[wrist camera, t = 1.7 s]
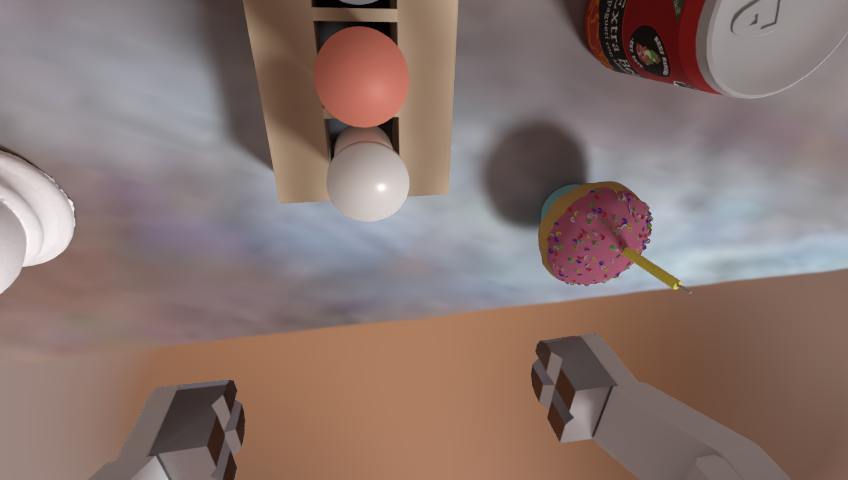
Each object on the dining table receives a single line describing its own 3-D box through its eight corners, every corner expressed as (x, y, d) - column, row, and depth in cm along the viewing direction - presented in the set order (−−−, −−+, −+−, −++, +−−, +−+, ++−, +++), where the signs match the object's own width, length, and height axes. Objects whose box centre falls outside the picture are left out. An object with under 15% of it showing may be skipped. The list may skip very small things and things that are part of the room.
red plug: (394, 24, 22) (409, 27, 17) (396, 103, 24) (409, 126, 19) (315, 22, 21) (307, 25, 16) (324, 104, 23) (319, 128, 18)
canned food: (564, -9, 26) (692, -21, 16) (677, -90, 24) (887, -153, 15) (599, 94, 29) (719, 132, 20) (699, 28, 28) (876, 37, 19)
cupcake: (622, 160, 33) (750, 227, 22) (600, 247, 37) (699, 338, 27) (523, 167, 31) (610, 243, 21) (513, 257, 36) (581, 357, 25)
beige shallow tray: (445, -97, 22) (464, -116, 19) (436, 173, 30) (448, 193, 27) (239, -110, 20) (218, -134, 17) (287, 180, 28) (279, 203, 25)
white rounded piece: (396, 116, 24) (409, 142, 19) (397, 181, 26) (409, 219, 21) (326, 118, 23) (321, 145, 19) (333, 184, 26) (330, 224, 21)
